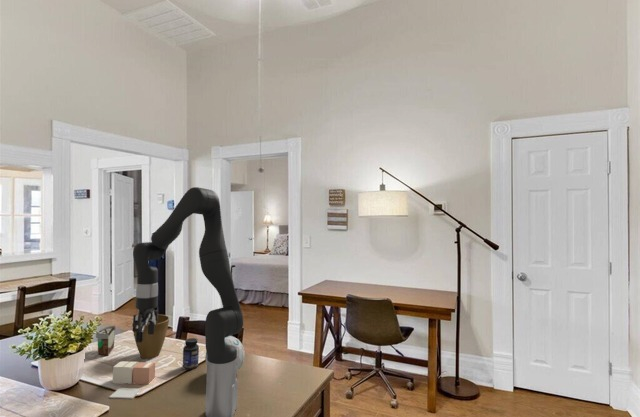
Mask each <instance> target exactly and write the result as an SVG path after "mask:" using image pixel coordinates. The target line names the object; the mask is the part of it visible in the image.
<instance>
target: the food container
mask: <svg viewBox="0 0 640 417" xmlns="http://www.w3.org/2000/svg"><path fill="white" fill-rule="evenodd" d="M95 338H96V339H97V340H96V341H97V354H98V355H99V356H101V357H109V356H110V354H111V353H112V351H114V348H115V338H116V325H110V326H105V327H101V328H99V329H98V330H97V331H96V334H95Z"/></svg>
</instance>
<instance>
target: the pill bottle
mask: <svg viewBox="0 0 640 417" xmlns="http://www.w3.org/2000/svg"><path fill="white" fill-rule="evenodd" d="M184 343H185V345H184V346H183V348H182V368H183V369H184V370H187V371H188V370H189V371H191V370H194V369H196V368H198V367H199V358H200V357H199V355H200V353H199V352H200V350H199V349H200V346H199V344H198V339H197V338H196V337H195V338H194V337H192V338H190V337H189V338H187V339H185V342H184Z"/></svg>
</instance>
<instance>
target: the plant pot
mask: <svg viewBox="0 0 640 417" xmlns="http://www.w3.org/2000/svg"><path fill="white" fill-rule="evenodd" d="M155 317H156V316H155ZM169 322H170V316H168V315H166V314H158V321H156V324H155V331H154V334H148V325H149V324H148V323H147V325H146V326H145V327H144V330H143V341H142V342H136V332H133V331H132V332H133V337H134V342H135V344H136V348H137V351H138V352H139V355H140V357H141V358H142V359H144V360H145V359H149V360H150V359H153V358H156V357H158V356H159V355H160V354H161V351H162V350H163V346H164V343H165V340H166V336H167V333H168V328H169ZM131 324H132V326H131V327H133V320H132V321H131ZM136 327H137V325H136ZM141 328H142V326H141Z"/></svg>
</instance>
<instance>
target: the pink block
mask: <svg viewBox="0 0 640 417" xmlns="http://www.w3.org/2000/svg"><path fill="white" fill-rule="evenodd" d="M155 376H156V362H140V361H139V363H138V364H137V365H136V366H135V367H133V383H132V384H133V385H134V383H135V385H149V383H150V382H151V381H152V380H153V379H154V378H155V379H156V377H155ZM155 379H154V380H155ZM154 380H153V381H154ZM153 381H152V382H153ZM152 382H151V383H152ZM136 383H137V384H136ZM151 383H150V384H151Z"/></svg>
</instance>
